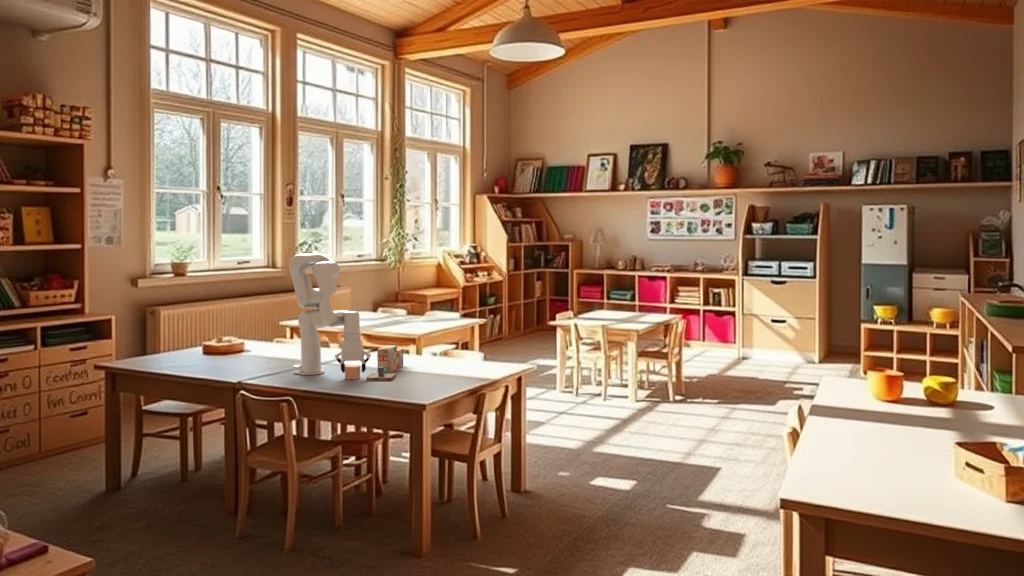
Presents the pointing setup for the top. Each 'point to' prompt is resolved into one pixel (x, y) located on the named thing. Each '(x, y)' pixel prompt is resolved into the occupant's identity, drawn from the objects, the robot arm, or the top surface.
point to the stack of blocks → (390, 358)
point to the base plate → (381, 376)
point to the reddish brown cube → (352, 372)
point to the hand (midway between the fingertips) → (353, 372)
